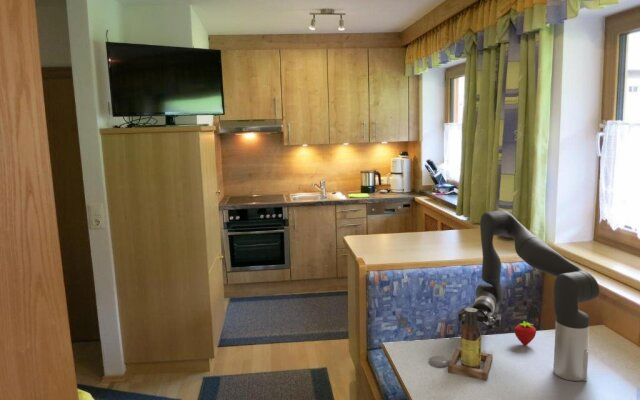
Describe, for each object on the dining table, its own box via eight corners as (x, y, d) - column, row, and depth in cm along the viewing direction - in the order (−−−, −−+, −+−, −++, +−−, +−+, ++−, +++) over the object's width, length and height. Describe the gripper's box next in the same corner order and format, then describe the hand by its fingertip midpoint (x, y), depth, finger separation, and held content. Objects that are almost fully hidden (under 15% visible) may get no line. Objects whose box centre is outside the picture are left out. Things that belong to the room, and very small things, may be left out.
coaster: (452, 359, 160) (452, 357, 159) (447, 369, 153) (447, 367, 153) (431, 355, 163) (431, 353, 163) (426, 365, 157) (426, 363, 156)
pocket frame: (492, 361, 157) (492, 354, 157) (486, 380, 146) (487, 373, 146) (455, 354, 163) (456, 347, 162) (448, 372, 151) (448, 365, 151)
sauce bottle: (483, 372, 151) (484, 313, 148) (463, 372, 151) (464, 314, 148) (477, 361, 158) (478, 305, 154) (458, 362, 158) (459, 306, 154)
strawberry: (510, 342, 170) (511, 316, 169) (530, 340, 171) (531, 314, 169) (518, 349, 165) (519, 323, 163) (539, 348, 165) (540, 321, 164)
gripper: (464, 296, 179) (455, 312, 165) (503, 301, 173) (498, 318, 158) (463, 315, 180) (455, 332, 166) (503, 320, 174) (497, 339, 160)
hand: (476, 325), depth 162 cm, fingers open, 8 cm apart
